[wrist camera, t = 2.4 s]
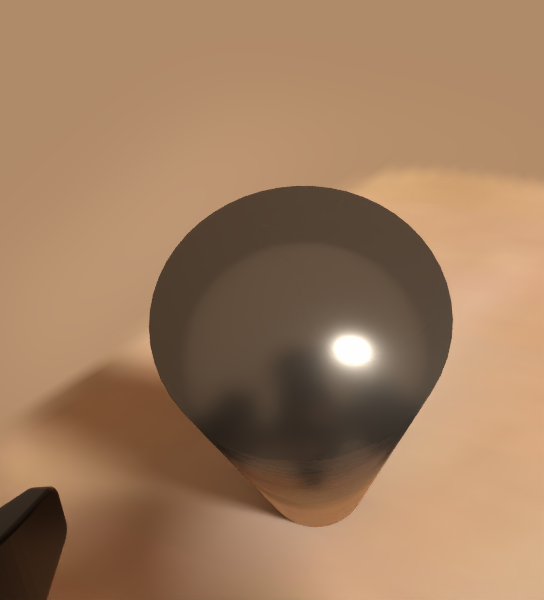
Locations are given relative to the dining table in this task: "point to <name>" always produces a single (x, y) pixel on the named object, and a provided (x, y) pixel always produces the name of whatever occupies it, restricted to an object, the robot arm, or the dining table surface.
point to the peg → (302, 341)
